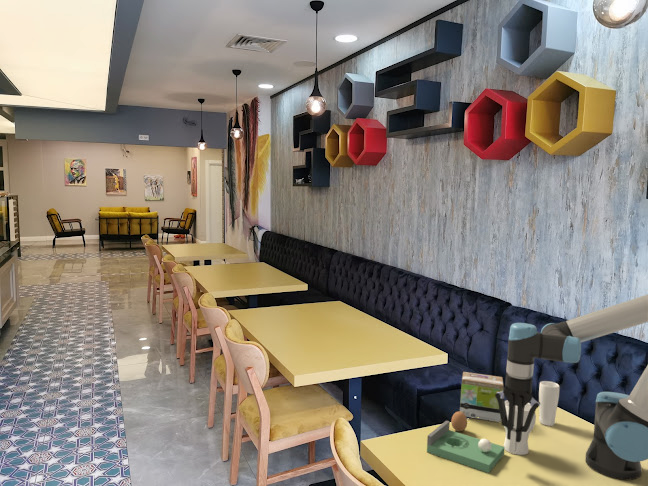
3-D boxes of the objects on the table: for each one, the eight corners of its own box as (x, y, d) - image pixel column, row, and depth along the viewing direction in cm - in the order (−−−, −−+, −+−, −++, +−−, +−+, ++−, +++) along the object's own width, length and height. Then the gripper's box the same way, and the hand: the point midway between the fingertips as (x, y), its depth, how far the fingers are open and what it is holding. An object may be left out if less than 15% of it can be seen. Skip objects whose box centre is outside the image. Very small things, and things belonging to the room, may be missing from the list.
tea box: (459, 417, 193) (461, 378, 192) (460, 407, 202) (462, 370, 201) (501, 423, 188) (503, 384, 187) (500, 413, 198) (502, 375, 197)
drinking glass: (542, 418, 194) (545, 379, 193) (560, 424, 189) (563, 384, 188) (533, 422, 190) (536, 383, 189) (551, 428, 185) (554, 388, 184)
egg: (448, 427, 183) (449, 408, 182) (463, 427, 184) (464, 408, 183) (454, 434, 178) (455, 414, 177) (469, 434, 178) (470, 414, 178)
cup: (536, 459, 162) (539, 413, 161) (501, 455, 164) (504, 409, 163) (529, 444, 172) (532, 400, 171) (496, 440, 174) (499, 397, 173)
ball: (492, 451, 161) (493, 438, 161) (488, 455, 158) (489, 443, 157) (480, 447, 163) (481, 435, 163) (475, 451, 160) (476, 439, 160)
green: (504, 454, 164) (505, 437, 164) (488, 473, 152) (489, 455, 152) (445, 435, 176) (446, 420, 176) (426, 452, 164) (427, 435, 164)
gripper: (545, 377, 152) (538, 453, 154) (501, 367, 160) (495, 439, 162) (539, 383, 146) (532, 462, 148) (493, 372, 154) (487, 448, 156)
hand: (513, 450), depth 155 cm, fingers closed
